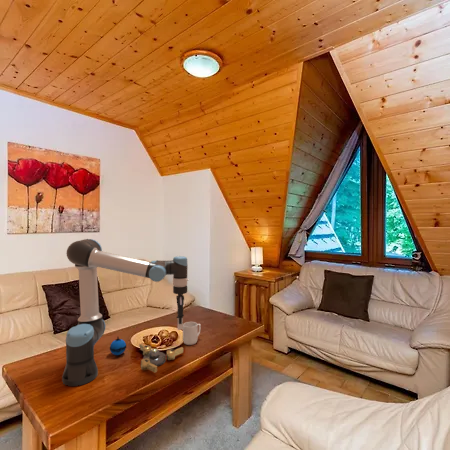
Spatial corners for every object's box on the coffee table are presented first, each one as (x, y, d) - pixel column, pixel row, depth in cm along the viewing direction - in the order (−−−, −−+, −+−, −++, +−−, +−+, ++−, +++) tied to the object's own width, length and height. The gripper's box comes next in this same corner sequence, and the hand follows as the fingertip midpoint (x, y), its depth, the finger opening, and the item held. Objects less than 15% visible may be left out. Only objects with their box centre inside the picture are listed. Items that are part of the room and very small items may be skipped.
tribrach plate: (142, 368, 143) (142, 356, 143) (143, 357, 154) (143, 346, 154) (165, 365, 145) (165, 353, 145) (165, 355, 157) (165, 344, 157)
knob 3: (170, 360, 149) (170, 353, 148) (165, 358, 151) (165, 350, 151) (185, 353, 156) (185, 346, 156) (179, 351, 159) (179, 344, 159)
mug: (188, 347, 167) (188, 328, 167) (180, 342, 173) (180, 324, 173) (204, 341, 175) (204, 323, 174) (196, 336, 181) (196, 319, 181)
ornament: (109, 352, 160) (109, 335, 159) (125, 349, 163) (125, 332, 163) (109, 359, 152) (109, 341, 151) (126, 356, 155) (126, 338, 155)
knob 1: (152, 353, 156) (152, 346, 156) (145, 356, 153) (145, 349, 153) (144, 347, 164) (144, 340, 163) (136, 350, 161) (136, 343, 160)
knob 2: (139, 368, 141) (139, 360, 141) (146, 364, 145) (146, 356, 145) (152, 374, 135) (152, 366, 135) (159, 370, 139) (159, 362, 139)
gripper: (188, 288, 146) (188, 333, 147) (186, 282, 159) (186, 324, 160) (173, 288, 145) (173, 334, 145) (172, 283, 157) (172, 325, 158)
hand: (180, 329), depth 152 cm, fingers closed
